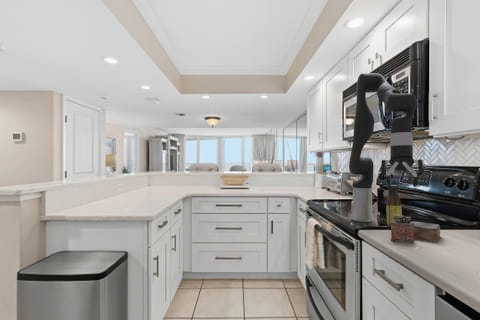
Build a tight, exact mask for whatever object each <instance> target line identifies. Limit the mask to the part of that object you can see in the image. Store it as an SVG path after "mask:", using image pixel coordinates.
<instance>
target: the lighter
mask: <svg viewBox="0 0 480 320" xmlns="http://www.w3.org/2000/svg"><path fill="white" fill-rule="evenodd" d="M411 218H412V217H411V216H405V215H402V216H401V217H400V216H393V219H396V221H391V228H390V232H391V233H390V235H391V238H390V241H391V242H393V243H402V244H404V243H405V244H414V243H415V239H414V223H413V222H412V221H411Z"/></svg>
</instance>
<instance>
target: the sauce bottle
mask: <svg viewBox="0 0 480 320" xmlns="http://www.w3.org/2000/svg"><path fill="white" fill-rule="evenodd" d="M398 188H399V187H398V185H397V184H391V186H388V185H387V191H388V195H387V197H386V201H385V204H386V206H385V207H386V208H385V210H386V224H387V227H388V226H390V227H391V221H396V219H393V216H400V217H401V216H403V213H402V201H401V199H400V196H399V193H398V192H399V191H398ZM390 227H389V228H390Z"/></svg>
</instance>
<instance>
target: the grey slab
mask: <svg viewBox="0 0 480 320" xmlns="http://www.w3.org/2000/svg"><path fill="white" fill-rule="evenodd" d="M411 222H413V223H414V240H420V241H424V242H432V243H438V241H439V239H440V238H441V226H440V224H437V223H429V222H420V221H411Z"/></svg>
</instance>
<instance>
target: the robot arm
mask: <svg viewBox="0 0 480 320" xmlns="http://www.w3.org/2000/svg"><path fill="white" fill-rule="evenodd" d="M356 81H357V82H356V100H355V101H356V104H355V105H356V106H355V116H354V123H353V124H354V125H353V136H352V145H351V152H350V157H349V163H348V170H349V172H350V174H351V175H353V176H354V175H355V176H356V175H357V176H359V175H361V177H360V178H359V179H357V180H355V181H353V182H352V201H351V202H350V203H351V205H350V206H351V211H350V212H351V221H355V222H358V223H359V222H360V223H361V222H362V223H370V222H371V223H372V222H373V183H374V167H375V166H374V161H373V159H372V158H370V157H369V156H365V157H364V156H362V157H361V155H362V151H363V149H364V147H365V146H366V144H367V143H368V141H369V140H370V139H371V137H372V135H373V133H374V129H375V117H374V115H373V113H372V110H371V109H370V108H369V105H368V103H367V98H366V93H368V94H369V93H370V94H371V93H373V94H374V93H376V96H377V98H378V100H380V101H381V102H382V103H384V105H385V110H386V111H388V112H391V113H402V115H401V116H399V117H396V118H393V119H391V121H390V139H389V141H390V142H389V146H390V147H389V148H390V153H389V155H390V157H389V158H390V159H382V160H381V162H380V163H381V166H380V167H381V168H380V175H383V176H385V177H386V178H385V179H386V180H385V183H386V185H387V187H388V186H391V185H392V176H391V175H392V174H393V173H394V172H395V171H397V172H399V171H405V172H406V171H408V172H409V173H410V174H411V175H412V186H413V187H412V188H414V187H415V188H416V187H417V186H418V185H419V177H420V176H424V175H425V168H424V160H423V159H421V158H420V159H414V148H413V147H414V145H413V144H414V143H413V139H414V138H413V126H412V125H413V123H412V122H413V118H414V114H415V111H416V108H417V105H418V104H417V103H418V98H417V96H416V95H415V94H413V93H402V92H401V91H400V90H399V89H397V88H396V87H394V86H393V85H391V84H390V83H389V82H388V81H387V80H386V78H385V77H384V76H383V75H382V74H380V73H377V72H375V73H374V72H373V73H372V72H367V73H366V72H365V73H363V72H362V73H360V74H359V76H358V78H357V80H356ZM388 164H390V165H391V167H390V168H389V170H388V171H387V166H388ZM414 164H415V165H416V166H417V167H418V172H417V171H416V170H415V169H414V167H413V165H414Z"/></svg>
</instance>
